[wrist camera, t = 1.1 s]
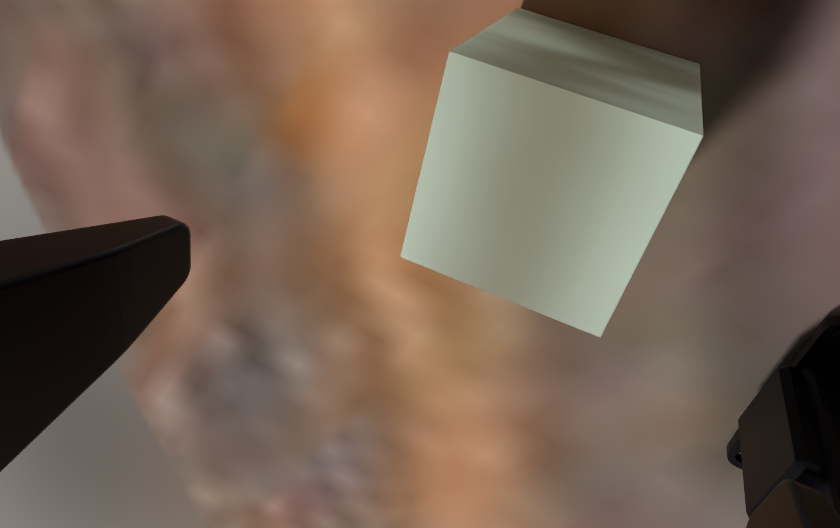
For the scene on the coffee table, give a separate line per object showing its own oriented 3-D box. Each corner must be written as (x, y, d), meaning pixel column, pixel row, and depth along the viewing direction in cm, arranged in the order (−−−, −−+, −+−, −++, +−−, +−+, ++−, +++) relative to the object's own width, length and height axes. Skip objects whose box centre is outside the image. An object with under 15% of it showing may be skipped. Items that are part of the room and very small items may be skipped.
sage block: (699, 64, 16) (703, 135, 11) (623, 224, 19) (600, 337, 14) (518, 7, 17) (449, 51, 12) (471, 168, 20) (400, 256, 15)
